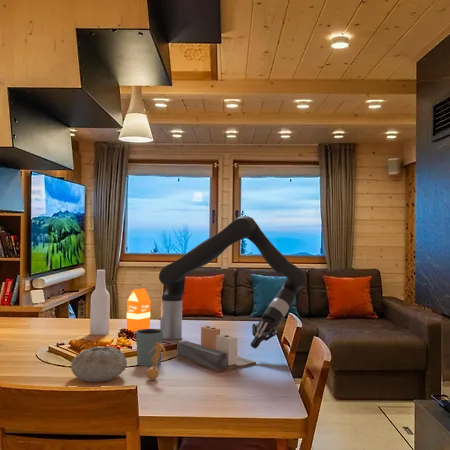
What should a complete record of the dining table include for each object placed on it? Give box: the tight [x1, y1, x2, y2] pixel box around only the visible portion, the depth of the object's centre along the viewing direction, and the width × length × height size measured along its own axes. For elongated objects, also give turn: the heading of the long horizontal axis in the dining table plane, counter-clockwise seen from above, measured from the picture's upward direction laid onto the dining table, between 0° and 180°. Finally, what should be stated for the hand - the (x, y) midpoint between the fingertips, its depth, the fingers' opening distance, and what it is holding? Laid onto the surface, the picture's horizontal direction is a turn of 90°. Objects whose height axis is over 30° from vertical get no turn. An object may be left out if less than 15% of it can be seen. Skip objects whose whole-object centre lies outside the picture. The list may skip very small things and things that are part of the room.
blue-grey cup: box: [135, 328, 164, 368], centre depth 179 cm, size 10×10×12 cm
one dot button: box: [216, 333, 238, 366], centre depth 177 cm, size 4×7×10 cm, turn 40°
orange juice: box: [126, 288, 151, 333], centre depth 241 cm, size 8×9×20 cm
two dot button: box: [200, 325, 221, 350], centre depth 193 cm, size 4×7×10 cm, turn 40°
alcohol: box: [89, 269, 111, 336], centre depth 229 cm, size 9×9×30 cm
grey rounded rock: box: [70, 346, 128, 383], centre depth 160 cm, size 18×18×10 cm
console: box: [175, 340, 257, 374], centre depth 184 cm, size 18×26×6 cm
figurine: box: [145, 342, 167, 381], centre depth 160 cm, size 8×6×12 cm
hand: (253, 347), depth 186 cm, fingers closed
